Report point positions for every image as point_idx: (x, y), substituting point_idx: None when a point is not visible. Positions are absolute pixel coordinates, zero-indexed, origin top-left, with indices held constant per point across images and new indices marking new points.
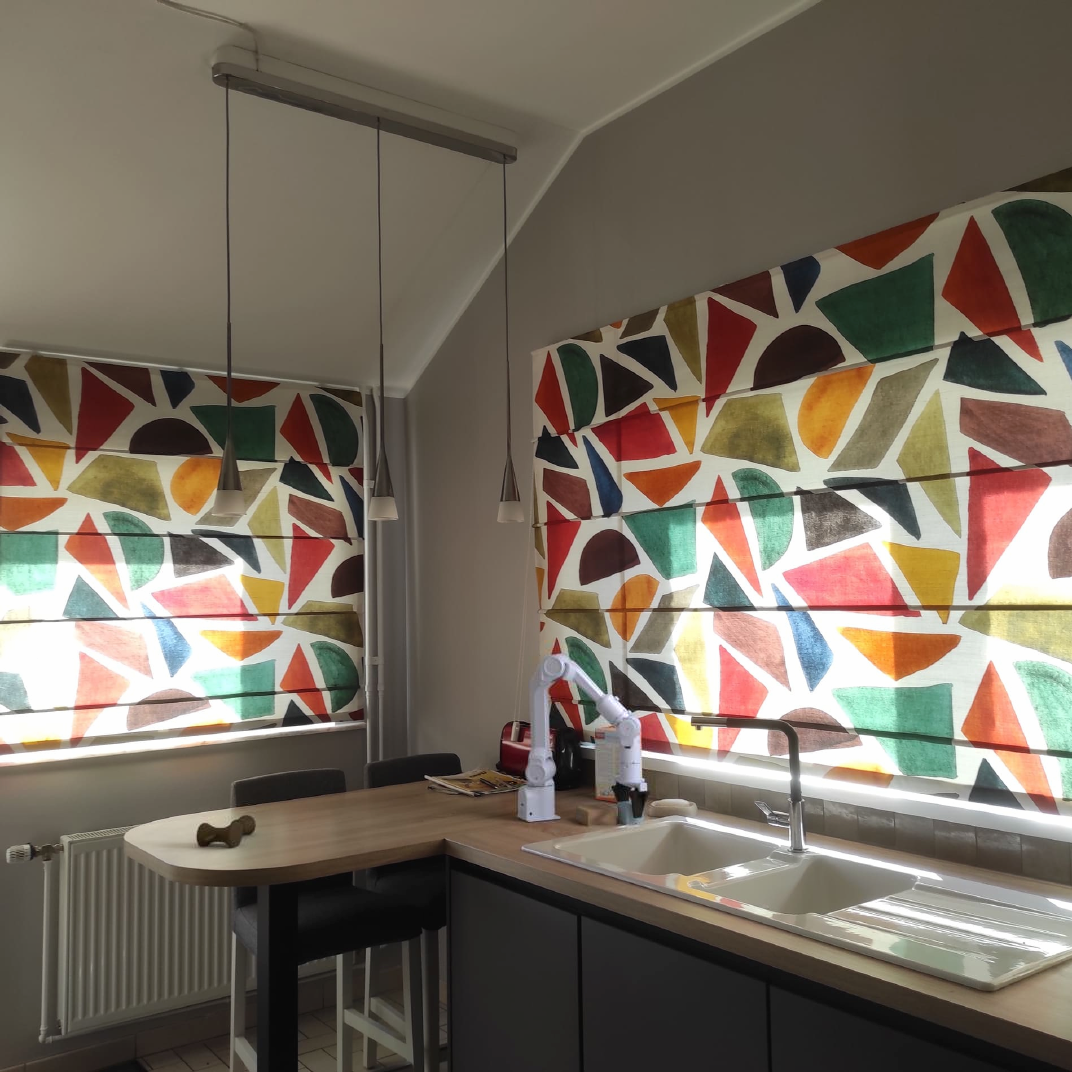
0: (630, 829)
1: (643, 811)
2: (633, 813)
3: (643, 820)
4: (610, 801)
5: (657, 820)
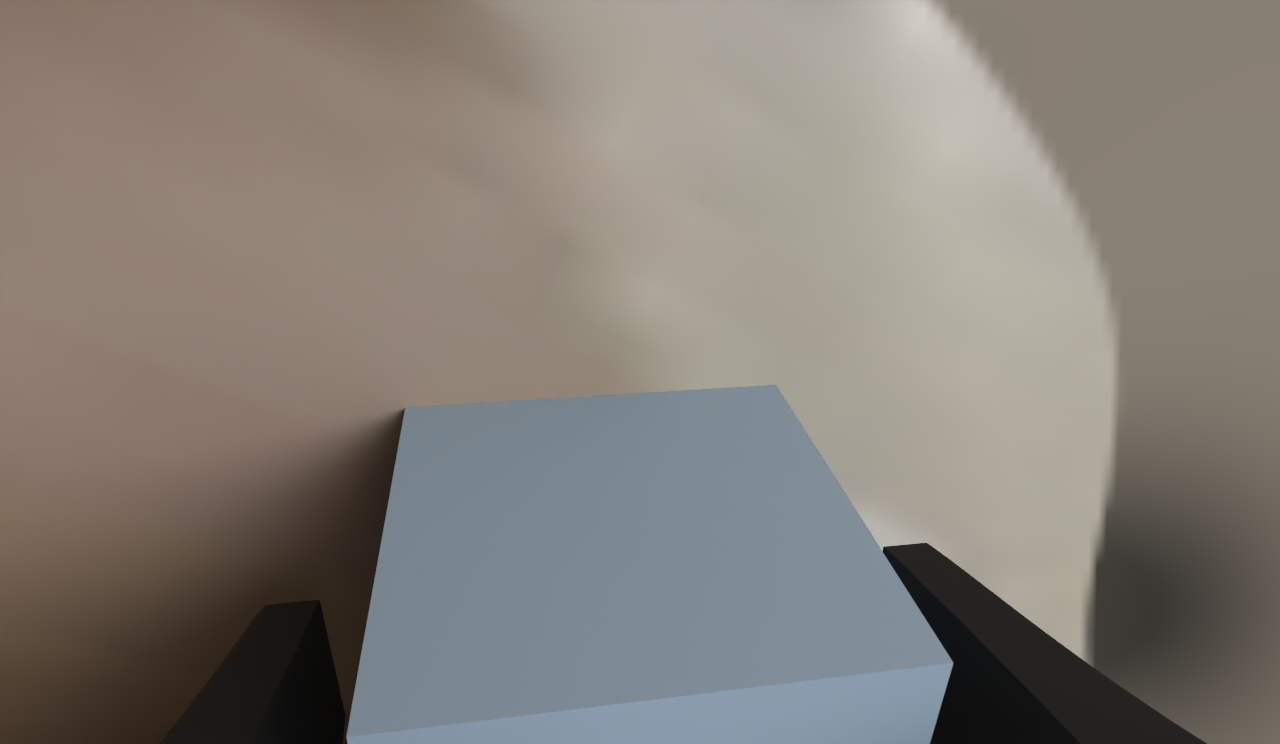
0: None
1: (859, 518)
2: None
3: (789, 412)
4: None
5: (715, 3)
